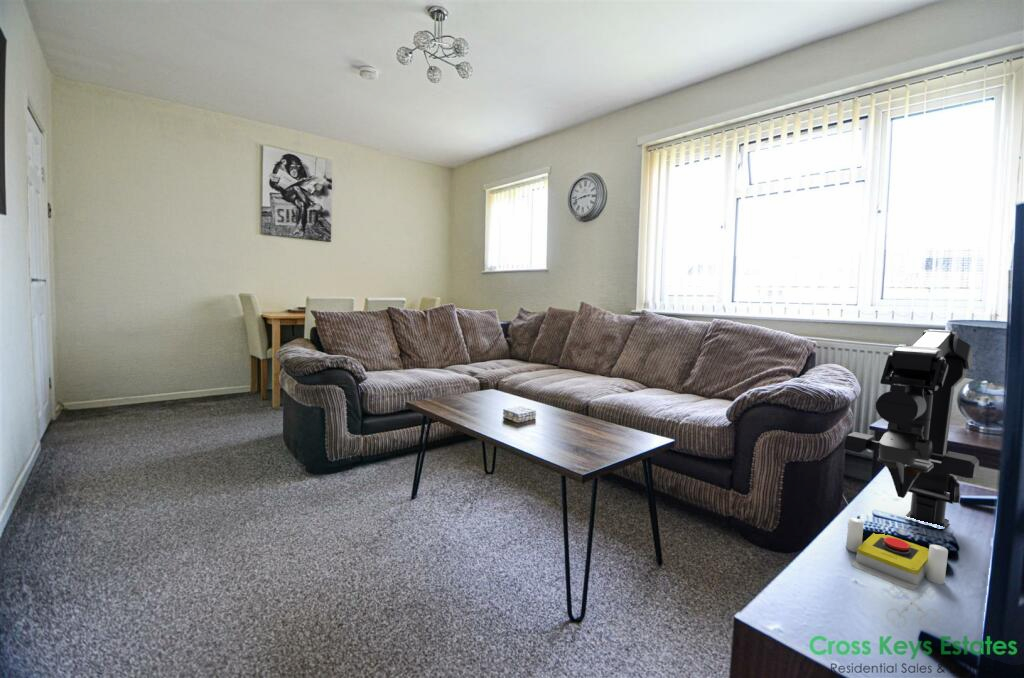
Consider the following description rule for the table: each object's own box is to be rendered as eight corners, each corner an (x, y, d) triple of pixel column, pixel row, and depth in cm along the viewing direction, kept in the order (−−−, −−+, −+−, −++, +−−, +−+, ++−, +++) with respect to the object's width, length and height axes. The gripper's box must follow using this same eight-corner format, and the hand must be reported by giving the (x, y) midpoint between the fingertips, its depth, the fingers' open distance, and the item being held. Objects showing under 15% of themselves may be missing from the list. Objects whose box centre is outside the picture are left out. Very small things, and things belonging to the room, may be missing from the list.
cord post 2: (928, 574, 83) (931, 542, 83) (945, 580, 81) (949, 548, 81) (924, 579, 82) (928, 547, 81) (942, 585, 80) (946, 553, 79)
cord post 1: (848, 544, 93) (850, 516, 92) (862, 550, 91) (865, 521, 90) (844, 548, 91) (846, 519, 91) (858, 554, 89) (861, 524, 89)
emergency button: (938, 542, 87) (915, 570, 78) (935, 564, 87) (913, 594, 78) (877, 522, 94) (851, 545, 85) (876, 542, 95) (849, 567, 86)
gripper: (835, 411, 87) (828, 489, 89) (972, 435, 73) (961, 529, 74) (855, 404, 94) (848, 477, 95) (983, 425, 79) (973, 511, 81)
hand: (901, 497), depth 86 cm, fingers closed
